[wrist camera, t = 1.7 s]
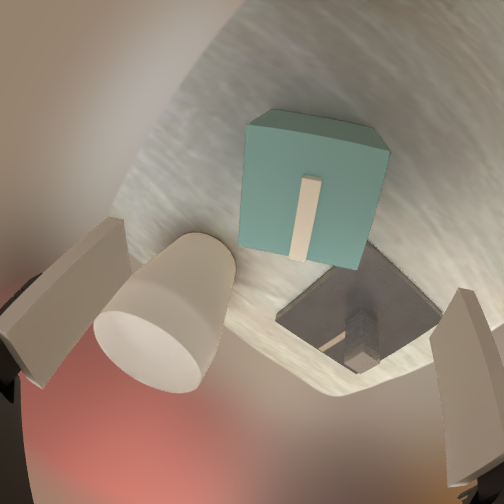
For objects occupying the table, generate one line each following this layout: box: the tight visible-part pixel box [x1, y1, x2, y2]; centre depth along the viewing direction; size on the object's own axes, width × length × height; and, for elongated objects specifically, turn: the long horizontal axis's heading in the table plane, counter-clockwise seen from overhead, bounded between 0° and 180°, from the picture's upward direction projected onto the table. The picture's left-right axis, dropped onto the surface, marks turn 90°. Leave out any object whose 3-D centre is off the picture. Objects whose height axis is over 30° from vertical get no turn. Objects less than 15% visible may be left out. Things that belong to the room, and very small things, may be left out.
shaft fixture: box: [275, 241, 443, 374], centre depth 26 cm, size 12×12×6 cm
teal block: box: [238, 109, 390, 270], centre depth 19 cm, size 7×7×8 cm
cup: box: [94, 233, 236, 393], centre depth 25 cm, size 9×9×12 cm
